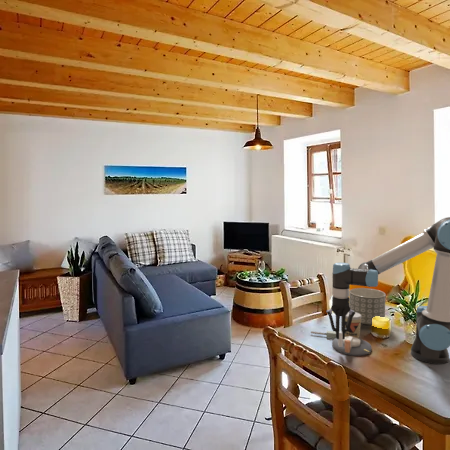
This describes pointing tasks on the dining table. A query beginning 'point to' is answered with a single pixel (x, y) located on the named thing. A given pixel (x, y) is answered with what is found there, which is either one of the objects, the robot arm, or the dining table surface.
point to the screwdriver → (327, 334)
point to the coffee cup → (354, 325)
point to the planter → (367, 304)
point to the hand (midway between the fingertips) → (340, 345)
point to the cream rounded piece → (350, 343)
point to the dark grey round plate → (353, 348)
